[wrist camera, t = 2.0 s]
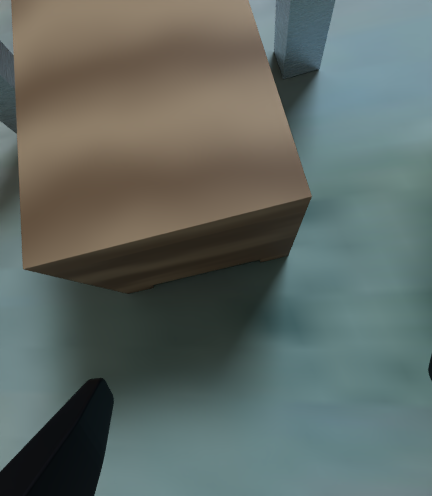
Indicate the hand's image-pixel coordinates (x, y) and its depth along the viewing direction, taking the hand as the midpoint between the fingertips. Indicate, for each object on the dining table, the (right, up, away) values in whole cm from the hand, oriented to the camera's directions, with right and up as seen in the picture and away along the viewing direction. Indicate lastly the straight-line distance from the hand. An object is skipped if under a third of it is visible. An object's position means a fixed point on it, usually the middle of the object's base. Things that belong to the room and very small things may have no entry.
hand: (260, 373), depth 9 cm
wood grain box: (-4, +9, +16) cm, 19 cm away
